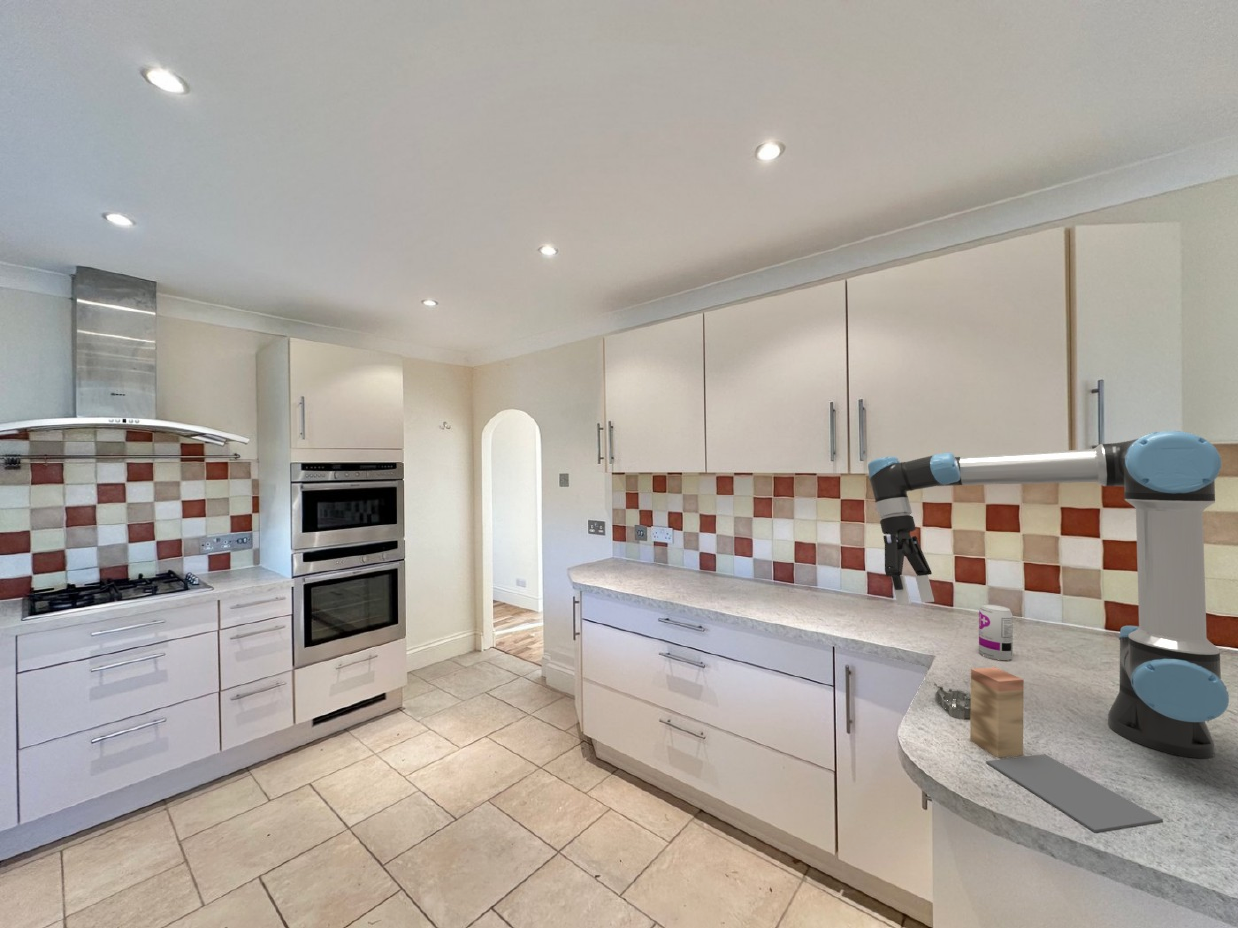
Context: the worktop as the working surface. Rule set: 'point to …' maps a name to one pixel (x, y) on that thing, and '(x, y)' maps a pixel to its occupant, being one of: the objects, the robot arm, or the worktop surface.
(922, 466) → the robot arm
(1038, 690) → the worktop surface
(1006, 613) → the supplement can
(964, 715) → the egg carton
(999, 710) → the oak block
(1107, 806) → the mat
